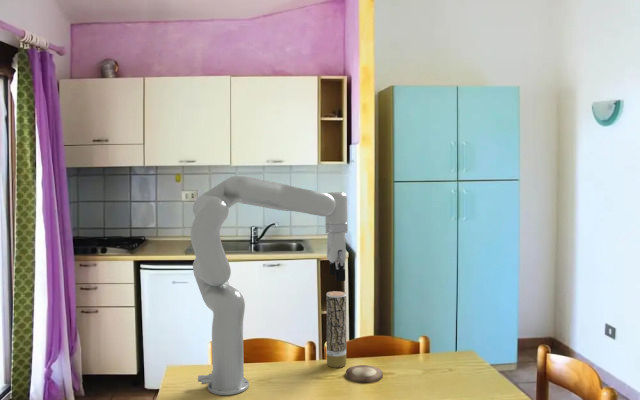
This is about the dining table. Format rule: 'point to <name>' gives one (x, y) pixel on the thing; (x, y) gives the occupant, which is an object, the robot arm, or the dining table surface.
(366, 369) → the base
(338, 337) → the bark-patterned cylinder
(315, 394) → the dining table surface
